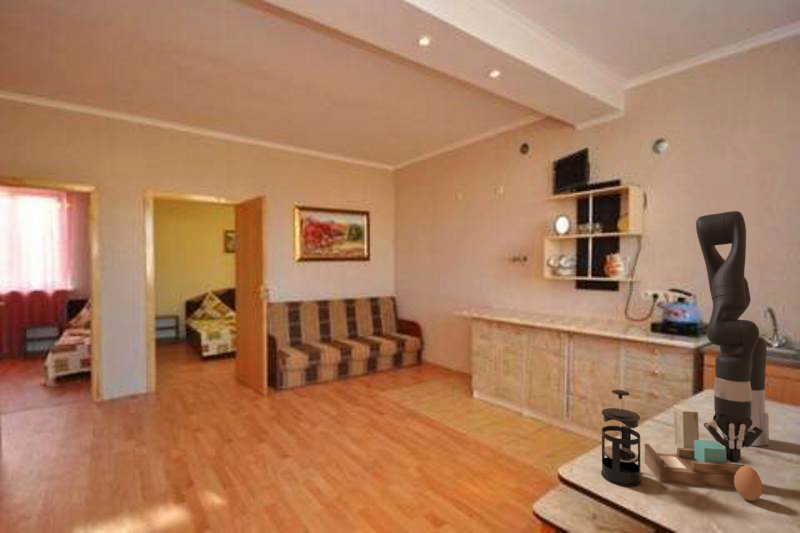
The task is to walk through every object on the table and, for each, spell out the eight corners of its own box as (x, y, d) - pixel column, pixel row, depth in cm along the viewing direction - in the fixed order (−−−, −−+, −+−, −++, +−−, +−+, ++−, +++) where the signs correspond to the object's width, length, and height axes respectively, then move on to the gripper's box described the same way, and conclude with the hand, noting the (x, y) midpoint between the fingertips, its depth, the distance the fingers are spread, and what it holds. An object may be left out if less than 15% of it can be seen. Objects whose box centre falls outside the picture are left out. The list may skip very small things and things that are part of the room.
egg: (728, 494, 99) (728, 461, 99) (747, 492, 99) (747, 460, 99) (748, 506, 94) (748, 472, 94) (768, 505, 94) (768, 471, 94)
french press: (635, 492, 100) (635, 400, 100) (595, 479, 106) (594, 392, 106) (646, 474, 108) (646, 389, 108) (608, 462, 115) (608, 382, 115)
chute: (724, 468, 111) (724, 449, 111) (748, 489, 101) (748, 467, 101) (644, 462, 114) (644, 443, 114) (660, 481, 105) (660, 460, 105)
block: (715, 459, 109) (715, 441, 109) (726, 468, 104) (726, 449, 104) (694, 458, 110) (694, 439, 110) (704, 467, 105) (704, 448, 105)
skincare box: (699, 453, 120) (699, 412, 119) (683, 452, 120) (683, 411, 120) (688, 443, 126) (688, 404, 126) (673, 442, 127) (673, 404, 127)
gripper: (751, 392, 108) (751, 456, 108) (696, 389, 110) (696, 452, 111) (771, 401, 101) (772, 470, 101) (712, 399, 103) (712, 466, 103)
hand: (732, 461), depth 106 cm, fingers closed
